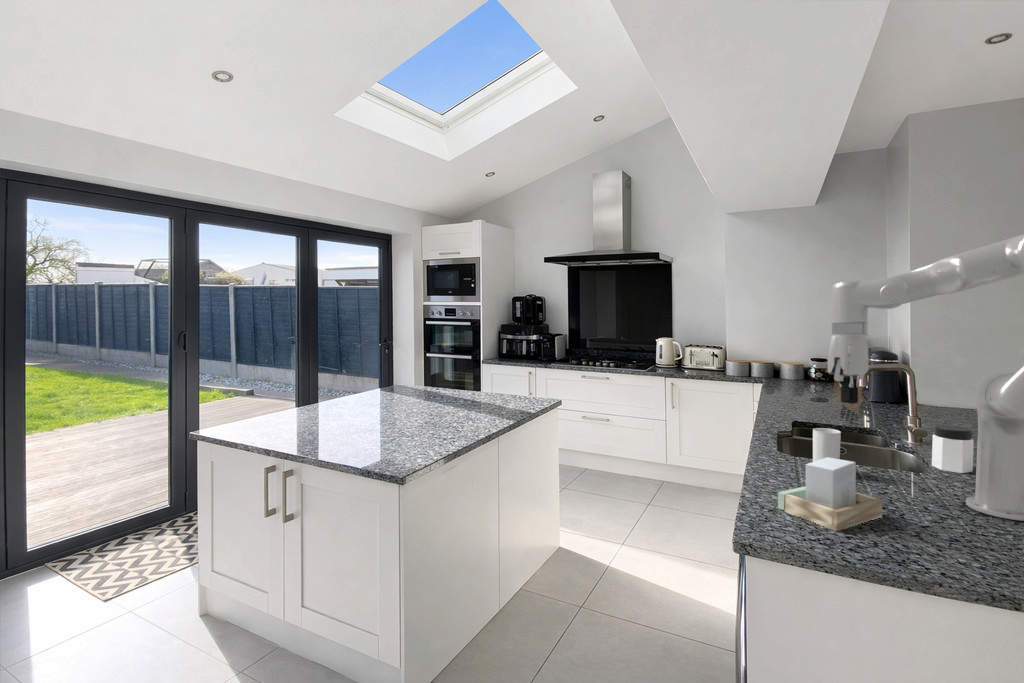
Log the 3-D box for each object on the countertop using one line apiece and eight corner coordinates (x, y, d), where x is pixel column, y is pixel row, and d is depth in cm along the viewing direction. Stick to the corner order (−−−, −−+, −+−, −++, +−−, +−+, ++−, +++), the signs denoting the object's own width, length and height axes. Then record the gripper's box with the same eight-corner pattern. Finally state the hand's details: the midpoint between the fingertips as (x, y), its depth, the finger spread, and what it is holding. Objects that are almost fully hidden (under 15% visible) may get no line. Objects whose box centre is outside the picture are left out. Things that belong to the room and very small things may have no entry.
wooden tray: (882, 518, 111) (882, 500, 111) (836, 531, 104) (836, 512, 104) (829, 500, 121) (829, 484, 121) (784, 511, 114) (785, 494, 114)
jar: (979, 474, 141) (980, 432, 141) (946, 472, 143) (947, 430, 142) (957, 465, 150) (958, 425, 150) (926, 463, 152) (927, 424, 151)
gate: (833, 498, 122) (833, 477, 122) (783, 510, 115) (784, 487, 114) (813, 491, 127) (813, 471, 126) (764, 503, 119) (764, 481, 119)
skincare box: (825, 499, 119) (826, 455, 119) (856, 508, 114) (857, 462, 113) (803, 509, 113) (804, 462, 113) (834, 518, 108) (835, 470, 108)
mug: (831, 477, 139) (832, 434, 138) (807, 471, 145) (807, 429, 144) (850, 471, 144) (851, 430, 144) (826, 465, 150) (827, 425, 149)
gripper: (851, 329, 134) (851, 398, 134) (816, 330, 127) (816, 403, 127) (882, 329, 127) (882, 401, 128) (847, 331, 120) (847, 407, 121)
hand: (849, 402), depth 127 cm, fingers closed
